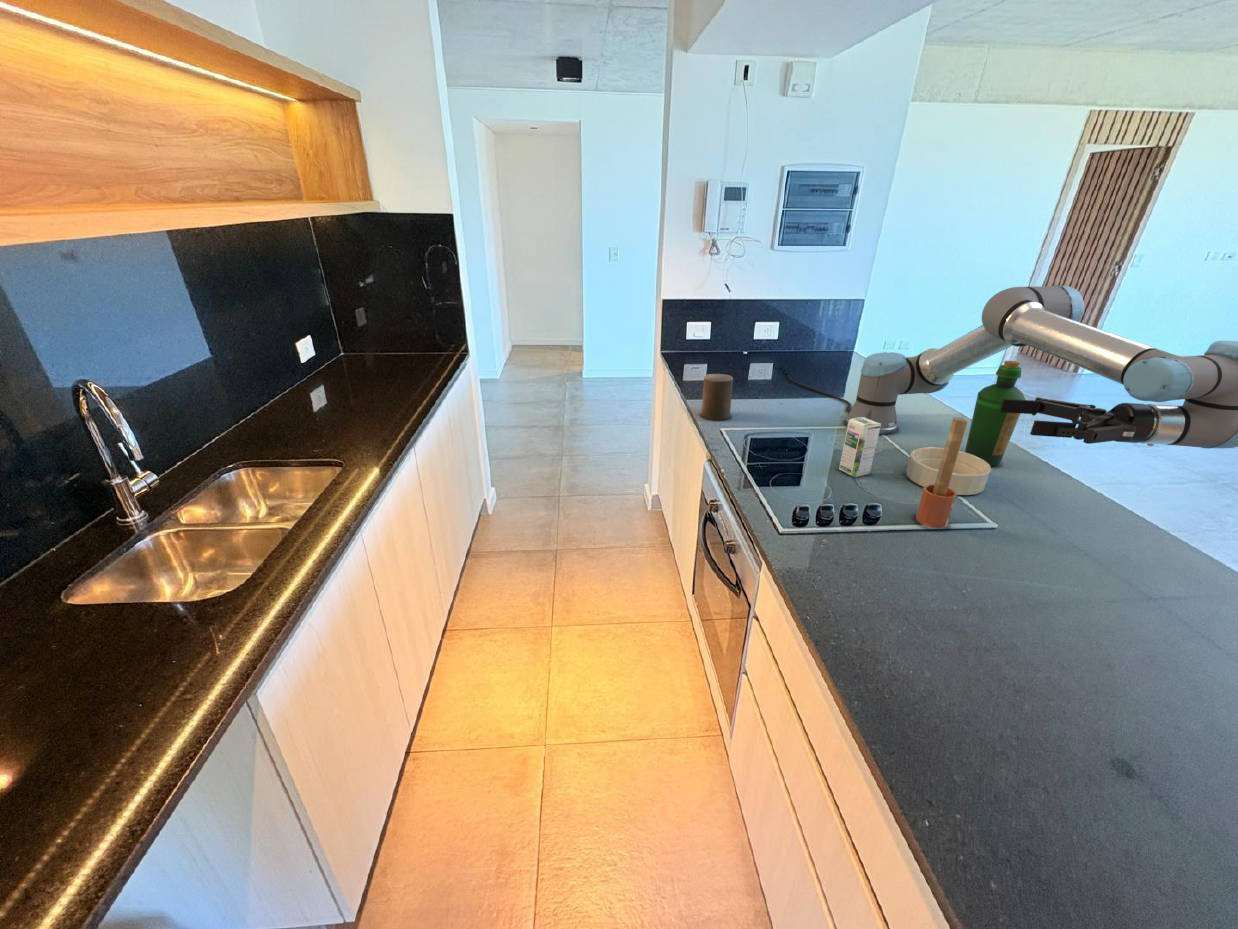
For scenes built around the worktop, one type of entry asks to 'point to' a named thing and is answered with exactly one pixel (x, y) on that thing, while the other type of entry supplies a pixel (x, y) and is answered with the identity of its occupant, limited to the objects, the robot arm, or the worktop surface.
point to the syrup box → (859, 446)
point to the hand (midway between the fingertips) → (1016, 416)
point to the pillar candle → (717, 396)
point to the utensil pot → (935, 507)
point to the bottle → (994, 416)
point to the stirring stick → (949, 456)
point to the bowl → (965, 475)
